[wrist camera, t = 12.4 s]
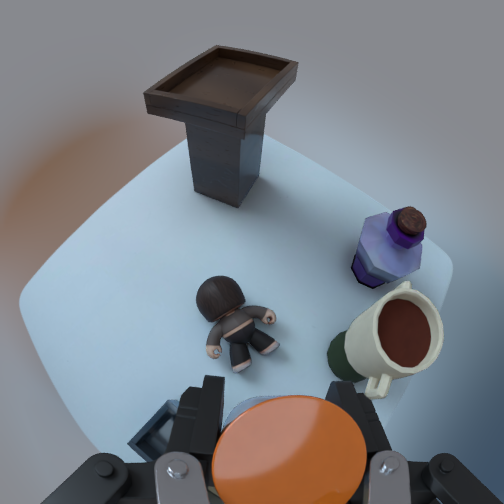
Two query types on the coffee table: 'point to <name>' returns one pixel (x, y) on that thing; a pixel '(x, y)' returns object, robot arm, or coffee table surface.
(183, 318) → the coffee table surface
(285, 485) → the orange glossy cylinder
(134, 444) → the three-compartment dish
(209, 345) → the figurine
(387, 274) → the potion bottle
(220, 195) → the walnut tray stand
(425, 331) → the character mug
